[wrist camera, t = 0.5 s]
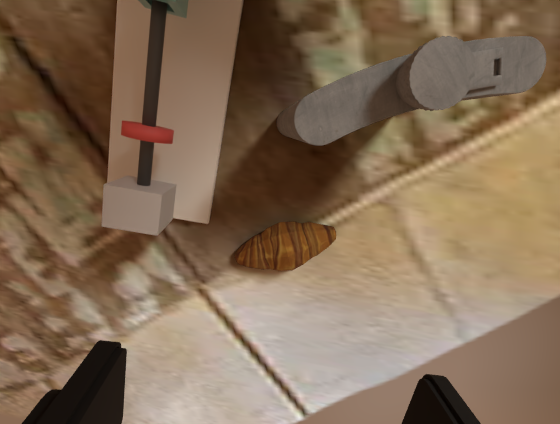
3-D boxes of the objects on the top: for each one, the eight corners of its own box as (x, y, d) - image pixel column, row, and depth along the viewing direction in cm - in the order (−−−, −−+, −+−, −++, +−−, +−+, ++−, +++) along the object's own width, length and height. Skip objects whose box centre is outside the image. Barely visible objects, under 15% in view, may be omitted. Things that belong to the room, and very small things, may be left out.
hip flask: (280, 139, 35) (307, 155, 16) (271, 104, 34) (289, 76, 15) (408, 105, 35) (589, 79, 16) (404, 69, 34) (593, -5, 15)
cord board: (128, -95, 28) (66, -201, 19) (252, -58, 30) (249, -140, 20) (110, 203, 36) (60, 230, 27) (209, 221, 37) (194, 251, 28)
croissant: (328, 204, 38) (338, 215, 33) (338, 250, 40) (348, 267, 35) (228, 229, 38) (223, 244, 33) (242, 275, 40) (240, 295, 35)
